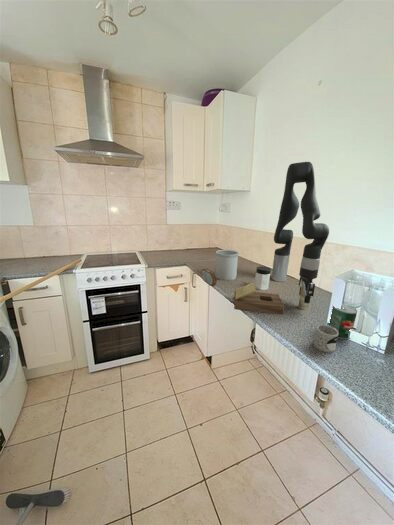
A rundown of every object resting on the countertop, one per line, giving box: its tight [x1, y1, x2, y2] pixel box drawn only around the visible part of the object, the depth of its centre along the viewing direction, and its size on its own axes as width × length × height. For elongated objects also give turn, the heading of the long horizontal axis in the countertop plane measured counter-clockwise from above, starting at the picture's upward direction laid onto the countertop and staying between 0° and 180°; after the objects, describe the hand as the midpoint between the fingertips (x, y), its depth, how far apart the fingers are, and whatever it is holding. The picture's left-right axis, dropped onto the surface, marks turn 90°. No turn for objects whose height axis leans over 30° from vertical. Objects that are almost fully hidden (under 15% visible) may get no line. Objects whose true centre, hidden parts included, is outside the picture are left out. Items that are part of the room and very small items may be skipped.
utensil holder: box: [215, 249, 240, 282], centre depth 144 cm, size 15×15×18 cm
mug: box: [313, 324, 339, 354], centre depth 77 cm, size 10×7×7 cm, turn 124°
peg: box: [297, 284, 310, 311], centre depth 104 cm, size 4×4×12 cm
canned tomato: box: [328, 305, 358, 340], centre depth 84 cm, size 8×8×11 cm
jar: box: [254, 265, 272, 291], centre depth 129 cm, size 9×8×12 cm
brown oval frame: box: [201, 268, 218, 287], centre depth 133 cm, size 15×3×8 cm, turn 26°
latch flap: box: [235, 281, 257, 300], centre depth 106 cm, size 11×10×1 cm
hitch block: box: [233, 289, 285, 315], centre depth 107 cm, size 14×22×4 cm, turn 80°
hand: (303, 299), depth 104 cm, fingers open, 8 cm apart
